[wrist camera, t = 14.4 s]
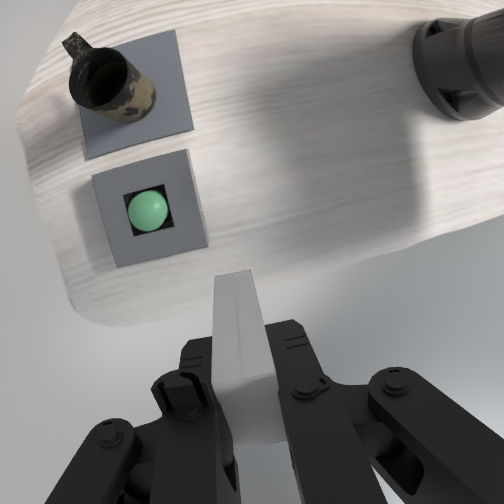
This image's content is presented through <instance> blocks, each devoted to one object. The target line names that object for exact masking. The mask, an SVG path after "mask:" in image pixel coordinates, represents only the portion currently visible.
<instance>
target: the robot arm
mask: <svg viewBox="0 0 504 504" xmlns="http://www.w3.org/2000/svg"><path fill="white" fill-rule="evenodd" d="M413 59H414V65H415V69H416V72H417V75H418V78H419V80H420V82H421V85H422V87H423V88H424V90H425V92H426V93H427V95H428V96H429V98H430V99H431V101H432V102H433V103H434V104H435V105H436V106H437V107H438V108H439V109H440V110H441V111H442V112H444V113H445V114H446V115H448V116H450V117H452V118H454V119H457V120H478V119H481V118H483V117H485V116H487V115H489V114H491V113H493V112H494V111H496V110H498V109H500V108H502V107H504V8H503V9H500V10H497V11H494V12H491V13H488V14H485V15H482V16H480V17H477V18H474V19H460V18H438V19H435V20H432V21H430V22H428V23H426V24H424V25H423V26H422V27H421V28H420V29H419V30H418V31H417V33H416V35H415V38H414V43H413ZM151 391H152V393H153V395H154V398H155V400H156V401H157V404H158V406H159V408H160V410H161V412H162V417H161V418H159V419H158V420H156V421H153V422H151V423H148V424H144V425H141V426H138V427H135V428H133V426H132V425H131V424H130V423H129V422H128V421H126V420H123V419H121V418H118V419H117V418H112V419H108V420H105V421H102V422H101V423H99V424H97V425H96V426H95V427H94V428H93V429H92V430H91V431H90V433H89V434H88V435H87V437H86V438H85V440H84V442H83V443H82V445H81V446H80V448H79V449H78V451H77V452H76V454H75V456H74V457H73V459H72V460H71V462H70V463H69V465H68V467H67V468H66V470H65V471H64V473H63V475H62V476H61V478H60V479H59V481H58V483H57V484H56V486H55V488H54V489H53V491H52V492H51V494H50V496H49V497H48V499H47V501H46V502H45V504H241V496H240V485H239V474H238V465H237V462H236V459H235V456H234V454H233V453H234V452H233V444H234V446H235V449H236V450H237V449H244V448H250V447H256V446H262V445H267V444H272V443H278V442H283V441H288V445H289V450H290V455H291V461H292V467H293V469H294V473H295V477H296V481H297V486H298V490H299V494H300V499H301V503H302V504H388V503H387V501H386V498H385V496H384V494H383V492H382V489H381V487H380V485H379V482H378V480H377V478H376V475H375V473H374V471H373V469H372V466H373V468H374V469H375V470H376V471H377V472H378V474H379V475H380V476H381V477H382V478H383V479H384V480H385V482H386V483H387V484H388V485H389V486H390V487H391V488H392V490H393V491H394V492H395V493H396V494H397V495H398V496H399V497H400V499H401V500H402V501H403V502H404V503H405V504H504V439H503V438H502V437H500V436H499V435H498V434H496V433H495V432H494V431H492V430H491V429H490V428H488V427H487V426H486V425H485V424H483V423H482V422H481V421H479V420H478V419H477V418H475V417H474V416H472V415H471V414H470V413H469V412H468V411H466V410H465V409H464V408H462V407H461V406H460V405H458V404H457V403H456V402H454V401H453V400H452V399H450V398H449V397H448V396H446V395H445V394H444V393H443V392H441V391H440V390H439V389H437V388H436V387H435V386H433V385H432V384H431V383H429V382H428V381H427V380H425V379H424V378H422V377H421V376H420V375H419V374H418V373H416V372H414V371H412V370H410V369H408V368H403V367H389V368H386V369H383V370H380V371H379V372H377V373H376V374H375V375H374V376H372V378H371V380H370V382H369V384H368V385H343V384H339V383H336V382H334V381H332V380H331V379H330V377H328V376H326V375H325V374H324V373H323V371H322V368H321V366H320V364H319V362H318V359H317V357H316V355H315V353H314V350H313V348H312V346H311V344H310V341H309V339H308V337H307V335H306V333H305V330H304V328H303V326H302V325H301V324H299V323H298V322H296V321H295V320H293V319H291V320H287V321H282V322H278V323H273V324H268V325H264V322H263V318H262V314H261V310H260V306H259V302H258V297H257V293H256V289H255V285H254V281H253V277H252V273H251V270H246V271H241V272H236V273H231V274H226V275H221V276H216V277H215V280H214V305H213V335H212V336H211V337H204V338H199V339H193V340H189V341H188V342H187V343H186V345H185V346H184V347H183V349H182V351H181V357H180V364H179V369H178V370H174V371H170V372H168V373H166V374H164V375H162V376H161V377H160V378H158V379H157V380H156V381H155V382H154V384H153V386H152V388H151ZM371 465H372V466H371Z"/></svg>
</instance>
